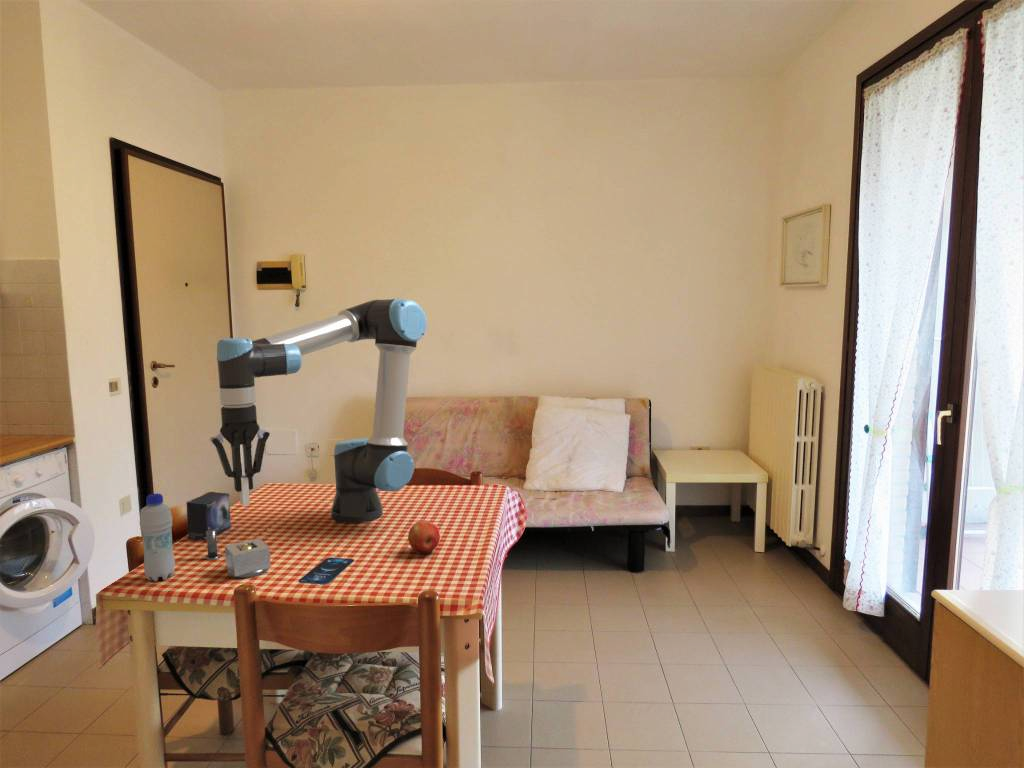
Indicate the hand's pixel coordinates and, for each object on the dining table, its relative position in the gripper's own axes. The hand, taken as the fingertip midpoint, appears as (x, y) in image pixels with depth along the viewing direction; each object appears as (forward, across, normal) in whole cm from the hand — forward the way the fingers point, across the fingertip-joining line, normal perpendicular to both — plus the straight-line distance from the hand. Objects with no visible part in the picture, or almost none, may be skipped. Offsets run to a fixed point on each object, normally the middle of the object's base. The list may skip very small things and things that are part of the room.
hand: (245, 503), depth 154 cm
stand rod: (+16, +5, -14) cm, 22 cm away
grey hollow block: (+15, 0, 0) cm, 15 cm away
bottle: (+17, +18, -9) cm, 26 cm away
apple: (+17, -39, +16) cm, 45 cm away
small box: (+17, +2, -33) cm, 37 cm away
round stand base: (+16, 0, 0) cm, 16 cm away
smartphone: (+17, -15, +12) cm, 25 cm away
